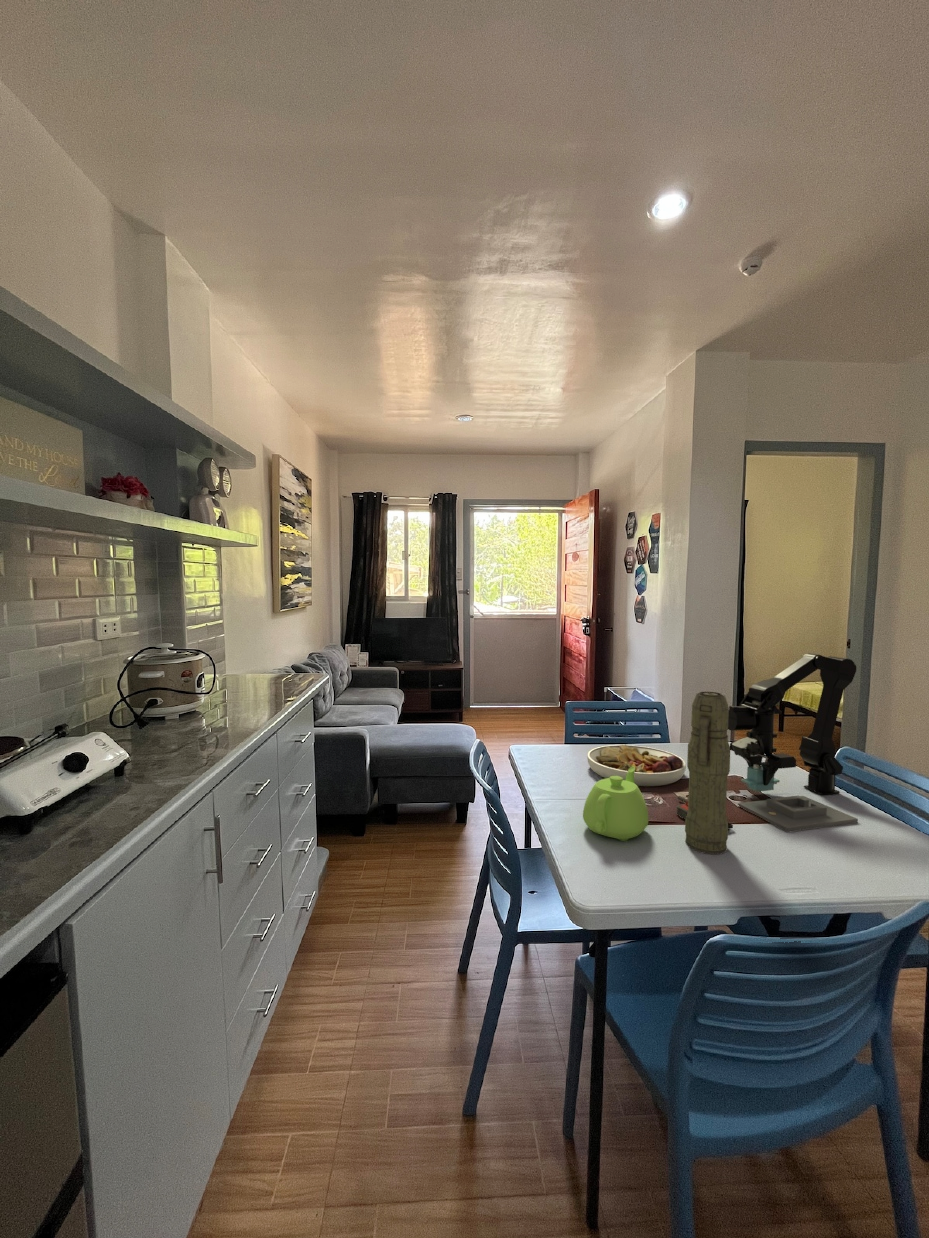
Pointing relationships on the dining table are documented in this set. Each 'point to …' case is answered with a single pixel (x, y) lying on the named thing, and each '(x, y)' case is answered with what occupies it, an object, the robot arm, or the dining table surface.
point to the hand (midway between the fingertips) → (760, 782)
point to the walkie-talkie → (683, 810)
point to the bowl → (637, 764)
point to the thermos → (708, 774)
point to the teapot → (616, 808)
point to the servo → (758, 779)
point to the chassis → (797, 813)
